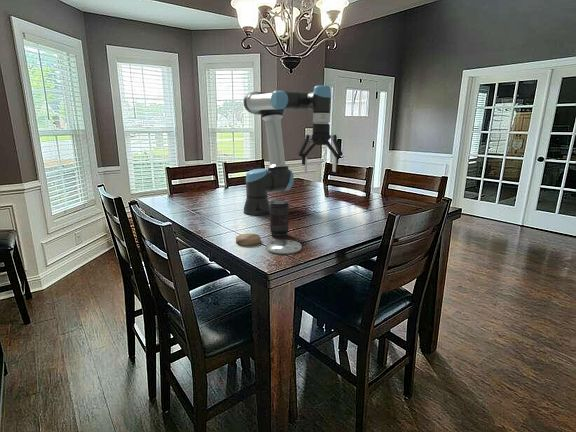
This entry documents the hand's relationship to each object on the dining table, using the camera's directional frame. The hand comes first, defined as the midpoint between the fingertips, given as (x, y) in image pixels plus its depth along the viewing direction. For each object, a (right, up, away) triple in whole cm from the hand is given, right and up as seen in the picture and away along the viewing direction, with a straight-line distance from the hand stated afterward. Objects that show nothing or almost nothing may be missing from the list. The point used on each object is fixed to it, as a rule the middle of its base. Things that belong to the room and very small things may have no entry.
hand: (319, 171), depth 154 cm
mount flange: (-16, -33, -21) cm, 42 cm away
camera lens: (-18, -29, -6) cm, 35 cm away
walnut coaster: (-31, -31, -15) cm, 46 cm away
